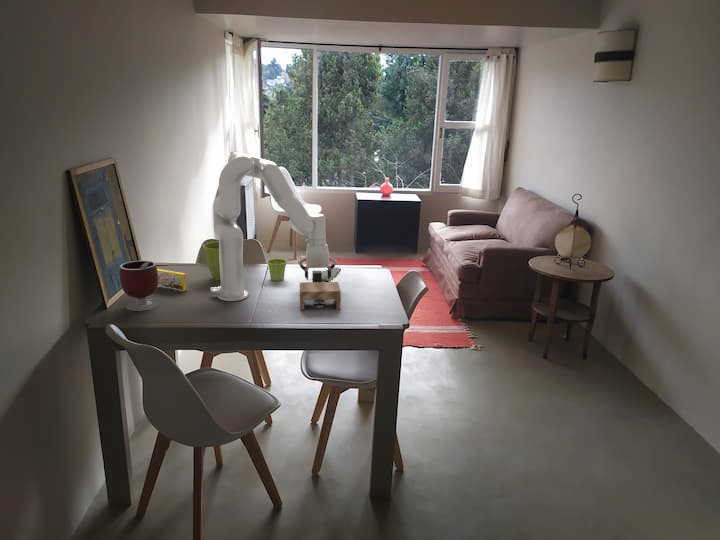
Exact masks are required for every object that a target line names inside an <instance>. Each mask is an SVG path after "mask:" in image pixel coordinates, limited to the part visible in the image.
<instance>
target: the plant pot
mask: <svg viewBox="0 0 720 540" xmlns="http://www.w3.org/2000/svg"><path fill="white" fill-rule="evenodd" d="M266 263H267V265H268V270H269V275H270V276H269V277H270V280H271V281H275V282H276V281H280V280H281V281H284V280H285V273H286V266H287V263H288V260H286V259H284V258H271V259H267V260H266Z"/></svg>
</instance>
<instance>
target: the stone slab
mask: <svg viewBox="0 0 720 540" xmlns="http://www.w3.org/2000/svg"><path fill="white" fill-rule="evenodd" d="M325 270H326V269H325ZM341 270H342V269H341V268H340V267H336V266H335V267H334V268H333V269H332V270H331V277H330V279H328V270H326V271H323V270H321V272H322V282H325V281H328V282H329V281H330V282H332V281H334V279H335V277H336V276H337V275H338V273H339V272H341ZM333 278H334V279H333ZM331 280H332V281H331Z"/></svg>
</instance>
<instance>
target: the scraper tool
mask: <svg viewBox="0 0 720 540" xmlns="http://www.w3.org/2000/svg"><path fill="white" fill-rule="evenodd" d="M311 275H312V276H311V282H323V281H322V270H312V273H311ZM313 301H314V302H318V301H322V302H325V300H313Z"/></svg>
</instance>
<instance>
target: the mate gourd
mask: <svg viewBox="0 0 720 540" xmlns="http://www.w3.org/2000/svg"><path fill="white" fill-rule="evenodd" d="M157 269H158V268H157V264H156V262H155V261H152V260H134V261H127V262H124V263H122V264H120V270H119V283H120V285H121V289H122V290H123V292H124V294H126V295H127V296H128V297H130V298H134V299H135V298H136V301H137V304H138V305H140V306H142V305H145V306H148V305H151V304H152V302H151V301H146V299H147V297H149V296H152V295H153V294H154V293H155V291H156V290H157V289H158V287H157V286H158V271H157ZM142 307H144V306H142Z"/></svg>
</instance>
